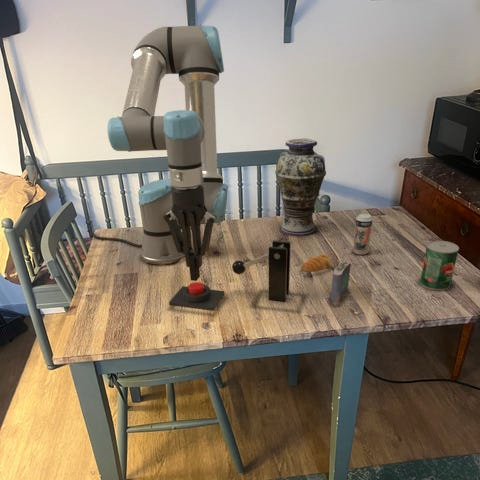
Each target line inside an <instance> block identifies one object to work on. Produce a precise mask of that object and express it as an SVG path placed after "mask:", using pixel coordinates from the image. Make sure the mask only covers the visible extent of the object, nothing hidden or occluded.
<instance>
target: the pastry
mask: <svg viewBox="0 0 480 480" xmlns="http://www.w3.org/2000/svg"><path fill="white" fill-rule="evenodd" d="M300 268H301V271H303V272H306V273H313V272H319V271H324V270H326V269H329V270H330V269H332V268H333V263H332V260H331V258H330V256H328V255H327V254H318V255H315V256H312V257H310V258H308V259H307V260H306V261H304V263H303V264H302V265H301V266H300Z"/></svg>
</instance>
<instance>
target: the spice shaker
mask: <svg viewBox="0 0 480 480" xmlns="http://www.w3.org/2000/svg"><path fill="white" fill-rule="evenodd" d="M372 226H373V218H372V215H371V214H368V213H359V214H358V215H357V216H356V217H355V226H354V227H355V228H354V236H353V237H354V238H353V246H352V252H353V253H354V254H356V255H358V256H359V255H360V256H363V255H364V256H365V255H366V254H368V253H369V250H370V242H371V235H372V234H371V233H372Z"/></svg>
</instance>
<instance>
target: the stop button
mask: <svg viewBox="0 0 480 480" xmlns="http://www.w3.org/2000/svg"><path fill="white" fill-rule="evenodd" d="M204 285H205V284H204V283H203V282H201V281H193V282H192V283H190V284H188V286H187V287H189V293H190V294H193V295H197V294H202V293H204Z"/></svg>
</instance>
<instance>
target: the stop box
mask: <svg viewBox="0 0 480 480" xmlns="http://www.w3.org/2000/svg"><path fill="white" fill-rule="evenodd" d="M225 293H226V292H225V291H224V290H217V289H211V288H210V286H209V285H206V284H204V293H202V294H197V295H193V294H190V293H189V287H188V286H185V285H184V286H181V287H180V289H179V290H178V291H177V292H176V293H175V294H174V296H172V298H171V299H170V300H169V301H168V305H169V306H172V307H180V308H188V309H195V310H203V311H210V312H211V311H215V309H216V308H217V306H218V304H219V303H220V302H221V301H222V299H223V298H224V296H225Z"/></svg>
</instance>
